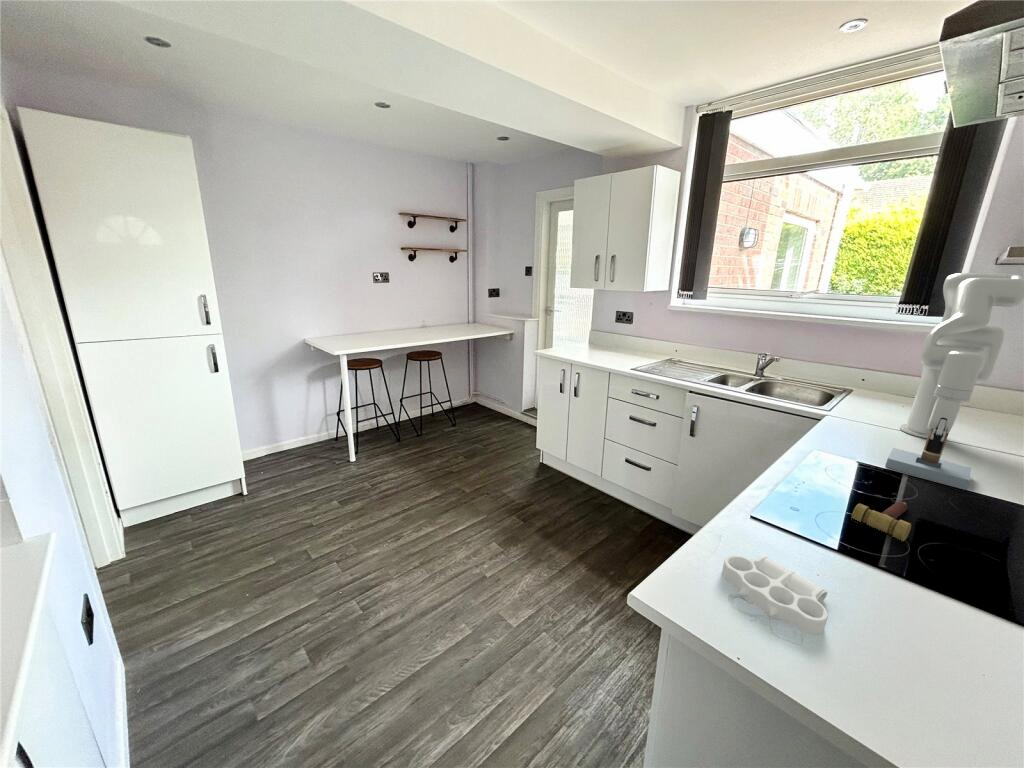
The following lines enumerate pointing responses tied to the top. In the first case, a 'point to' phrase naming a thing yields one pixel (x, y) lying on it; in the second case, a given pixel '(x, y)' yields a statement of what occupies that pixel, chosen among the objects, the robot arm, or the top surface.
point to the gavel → (884, 519)
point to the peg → (931, 456)
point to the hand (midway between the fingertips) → (933, 449)
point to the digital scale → (929, 468)
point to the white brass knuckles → (778, 591)
